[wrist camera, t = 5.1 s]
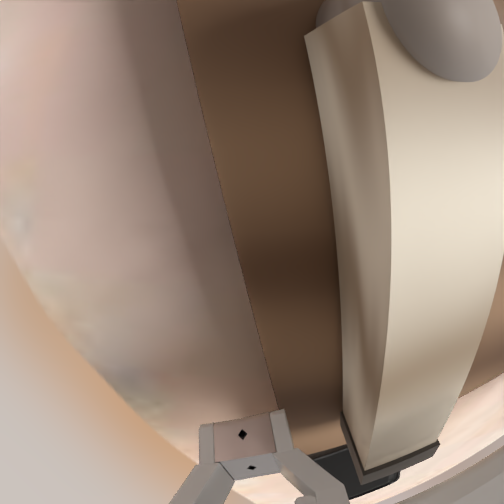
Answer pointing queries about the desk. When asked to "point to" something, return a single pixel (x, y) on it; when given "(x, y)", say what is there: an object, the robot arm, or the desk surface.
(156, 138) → the desk surface
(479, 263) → the stool leg
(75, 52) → the desk surface
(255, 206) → the wooden stand
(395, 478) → the phone
